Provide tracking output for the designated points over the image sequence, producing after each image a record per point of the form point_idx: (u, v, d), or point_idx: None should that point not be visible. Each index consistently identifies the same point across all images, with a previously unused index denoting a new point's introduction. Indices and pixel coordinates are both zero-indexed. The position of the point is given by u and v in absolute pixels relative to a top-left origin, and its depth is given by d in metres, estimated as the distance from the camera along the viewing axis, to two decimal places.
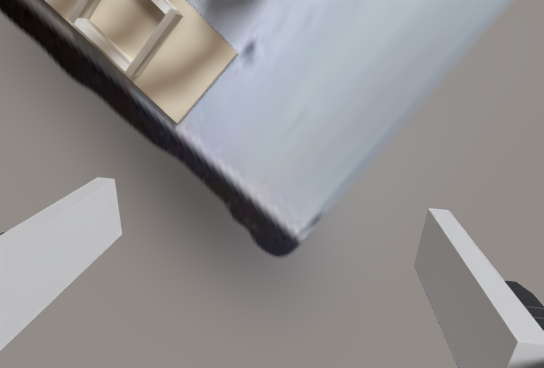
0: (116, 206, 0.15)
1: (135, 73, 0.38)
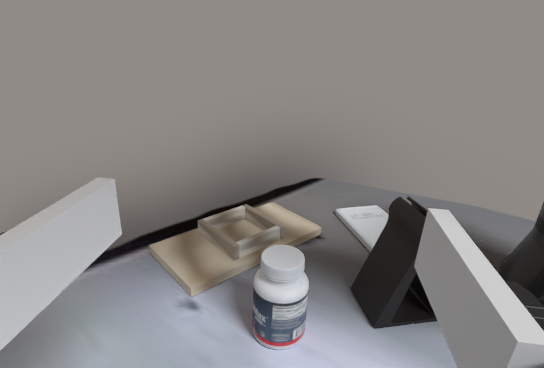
0: (116, 206, 0.15)
1: (199, 225, 0.48)
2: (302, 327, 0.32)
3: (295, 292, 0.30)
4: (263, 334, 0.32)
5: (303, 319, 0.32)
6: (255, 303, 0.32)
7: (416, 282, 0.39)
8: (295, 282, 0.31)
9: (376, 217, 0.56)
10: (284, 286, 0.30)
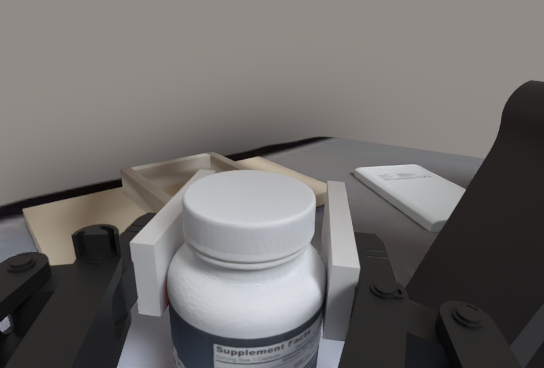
0: None
1: (123, 177, 0.27)
2: None
3: (287, 300, 0.09)
4: None
5: None
6: (172, 332, 0.11)
7: None
8: (288, 269, 0.10)
9: (421, 179, 0.35)
10: (253, 283, 0.09)
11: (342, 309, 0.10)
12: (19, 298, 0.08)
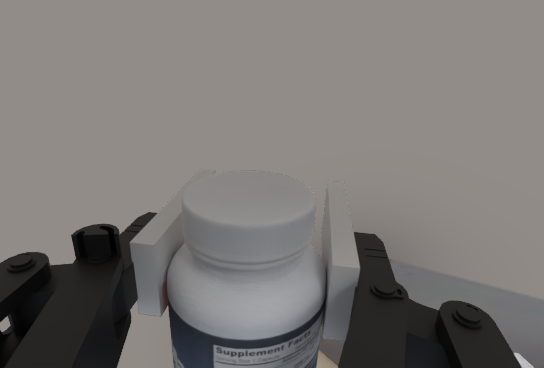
0: None
1: None
2: None
3: (287, 301, 0.09)
4: None
5: None
6: (171, 333, 0.11)
7: None
8: (288, 270, 0.10)
9: None
10: (252, 284, 0.09)
11: (342, 309, 0.10)
12: (19, 298, 0.08)
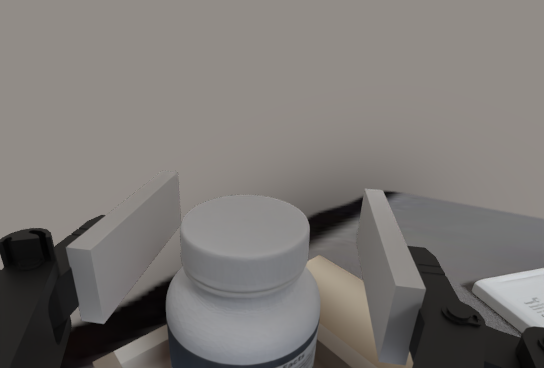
0: (178, 197, 0.16)
1: None
2: None
3: (281, 327, 0.10)
4: None
5: None
6: (170, 354, 0.11)
7: None
8: (282, 296, 0.10)
9: None
10: (248, 310, 0.10)
11: (402, 332, 0.09)
12: None
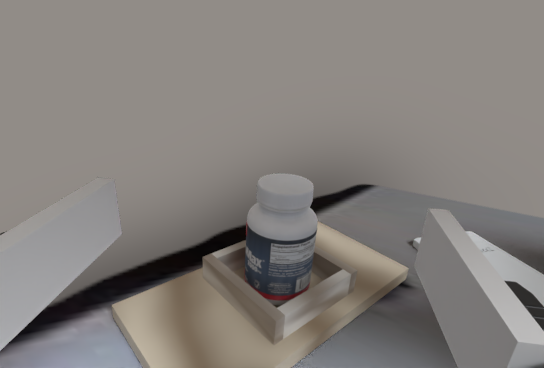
0: (116, 206, 0.15)
1: (205, 265, 0.27)
2: (307, 278, 0.26)
3: (301, 226, 0.23)
4: (258, 284, 0.25)
5: (309, 267, 0.25)
6: (248, 244, 0.25)
7: None
8: (301, 215, 0.24)
9: (485, 254, 0.34)
10: (287, 219, 0.23)
11: None
12: None
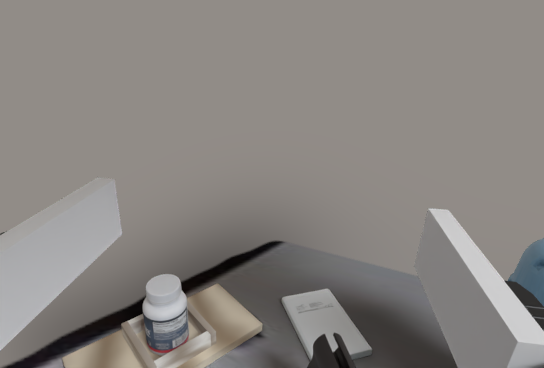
0: (116, 206, 0.15)
1: (122, 329, 0.43)
2: (182, 338, 0.42)
3: (170, 311, 0.40)
4: (150, 343, 0.41)
5: (182, 332, 0.42)
6: (144, 319, 0.41)
7: None
8: (171, 304, 0.40)
9: (324, 309, 0.51)
10: (162, 307, 0.40)
11: None
12: None
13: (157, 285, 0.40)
